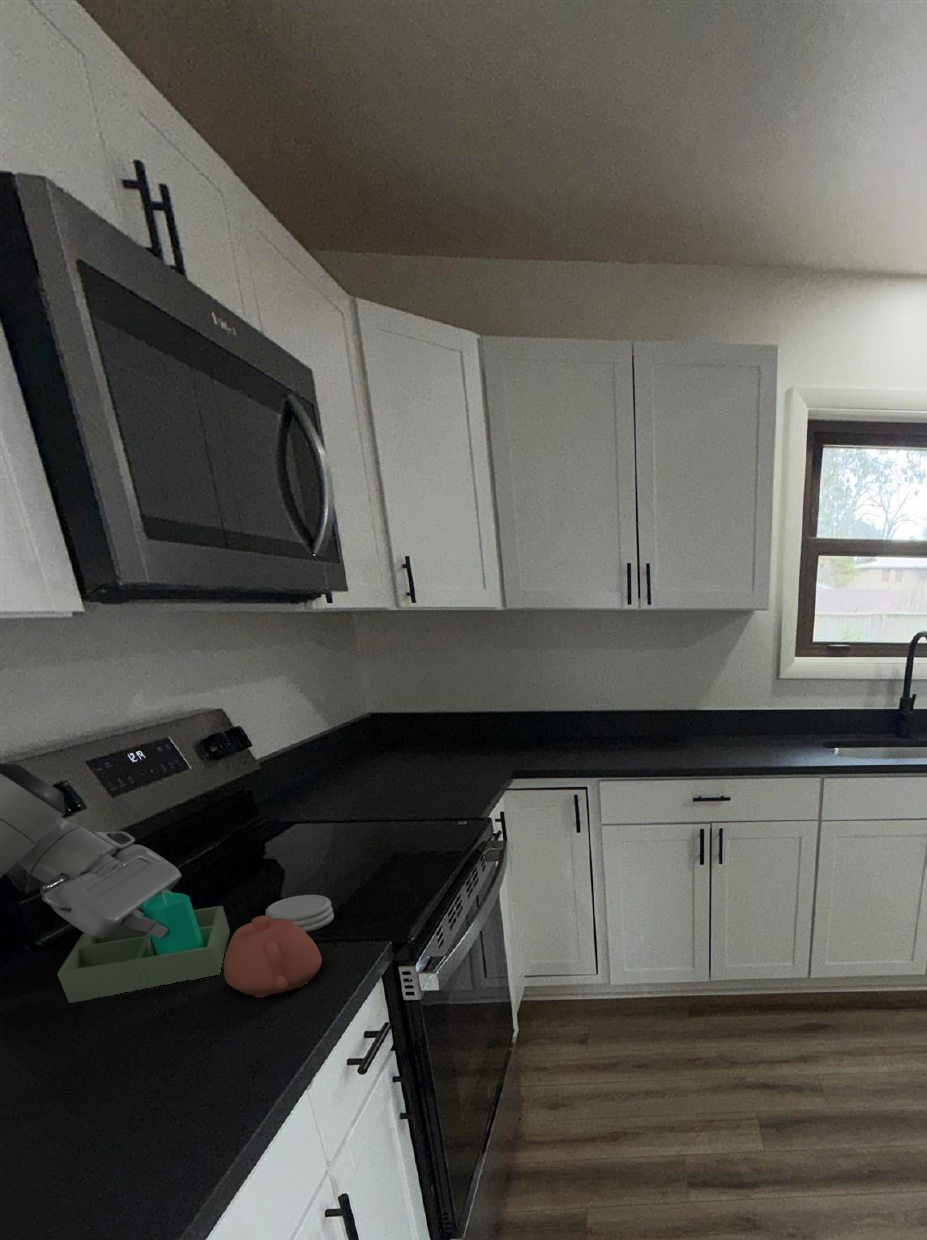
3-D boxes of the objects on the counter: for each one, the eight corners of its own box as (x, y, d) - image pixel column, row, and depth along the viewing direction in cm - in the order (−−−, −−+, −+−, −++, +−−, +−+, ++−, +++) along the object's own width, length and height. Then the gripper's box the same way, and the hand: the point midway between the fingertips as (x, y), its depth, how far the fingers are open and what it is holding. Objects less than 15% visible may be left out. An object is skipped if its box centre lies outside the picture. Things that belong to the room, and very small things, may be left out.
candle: (164, 961, 113) (139, 886, 108) (210, 953, 115) (188, 880, 110) (159, 977, 108) (132, 900, 103) (207, 968, 110) (183, 893, 105)
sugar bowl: (316, 956, 116) (301, 895, 111) (335, 992, 105) (320, 926, 101) (225, 978, 109) (206, 914, 105) (236, 1018, 99) (215, 948, 94)
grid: (69, 1003, 103) (57, 973, 101) (97, 952, 117) (87, 925, 116) (220, 975, 110) (212, 947, 108) (229, 931, 125) (222, 905, 123)
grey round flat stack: (255, 931, 124) (250, 912, 123) (300, 909, 133) (296, 891, 132) (304, 938, 122) (299, 918, 120) (347, 915, 130) (343, 897, 129)
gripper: (44, 873, 93) (152, 939, 99) (131, 828, 112) (219, 885, 117) (17, 908, 95) (126, 971, 100) (108, 858, 113) (196, 913, 118)
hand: (177, 924), depth 109 cm, fingers closed on candle, 5 cm apart
